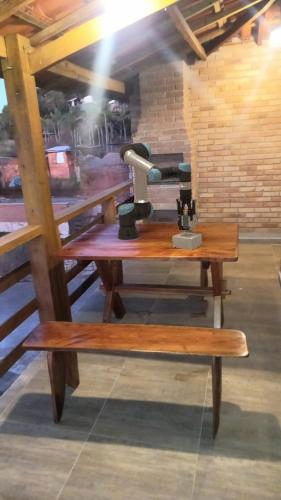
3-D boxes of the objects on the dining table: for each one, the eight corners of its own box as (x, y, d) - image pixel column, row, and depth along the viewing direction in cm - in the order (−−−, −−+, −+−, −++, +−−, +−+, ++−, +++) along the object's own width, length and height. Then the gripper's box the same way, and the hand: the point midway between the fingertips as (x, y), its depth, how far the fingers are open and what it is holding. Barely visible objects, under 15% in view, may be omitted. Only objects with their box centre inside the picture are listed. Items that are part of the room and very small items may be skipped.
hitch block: (172, 247, 245) (172, 236, 243) (183, 241, 255) (183, 231, 253) (191, 250, 237) (191, 239, 235) (202, 244, 246) (201, 234, 244)
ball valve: (189, 240, 256) (188, 214, 251) (177, 239, 261) (176, 214, 255) (199, 234, 271) (199, 209, 266) (188, 233, 275) (188, 208, 270)
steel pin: (182, 228, 242) (181, 209, 238) (185, 227, 245) (185, 208, 241) (188, 229, 239) (187, 210, 236) (191, 227, 242) (191, 209, 239)
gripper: (170, 189, 237) (172, 225, 244) (194, 190, 227) (196, 228, 234) (176, 187, 243) (178, 223, 250) (201, 188, 232) (202, 225, 239)
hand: (186, 225), depth 242 cm, fingers closed on steel pin, 4 cm apart
